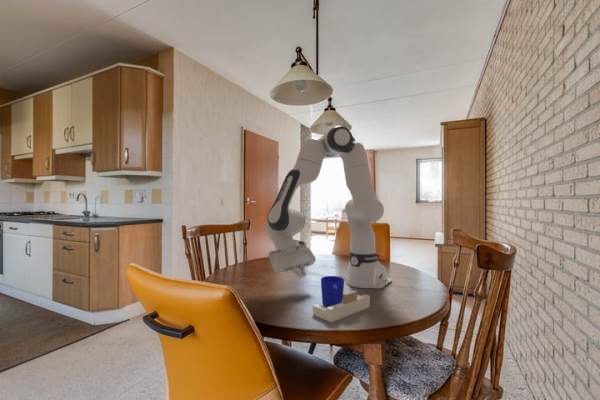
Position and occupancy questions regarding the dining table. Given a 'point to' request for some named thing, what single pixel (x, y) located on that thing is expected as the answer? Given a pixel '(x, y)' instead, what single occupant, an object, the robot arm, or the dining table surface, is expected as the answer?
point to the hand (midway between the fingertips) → (302, 276)
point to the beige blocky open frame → (343, 307)
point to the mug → (332, 290)
